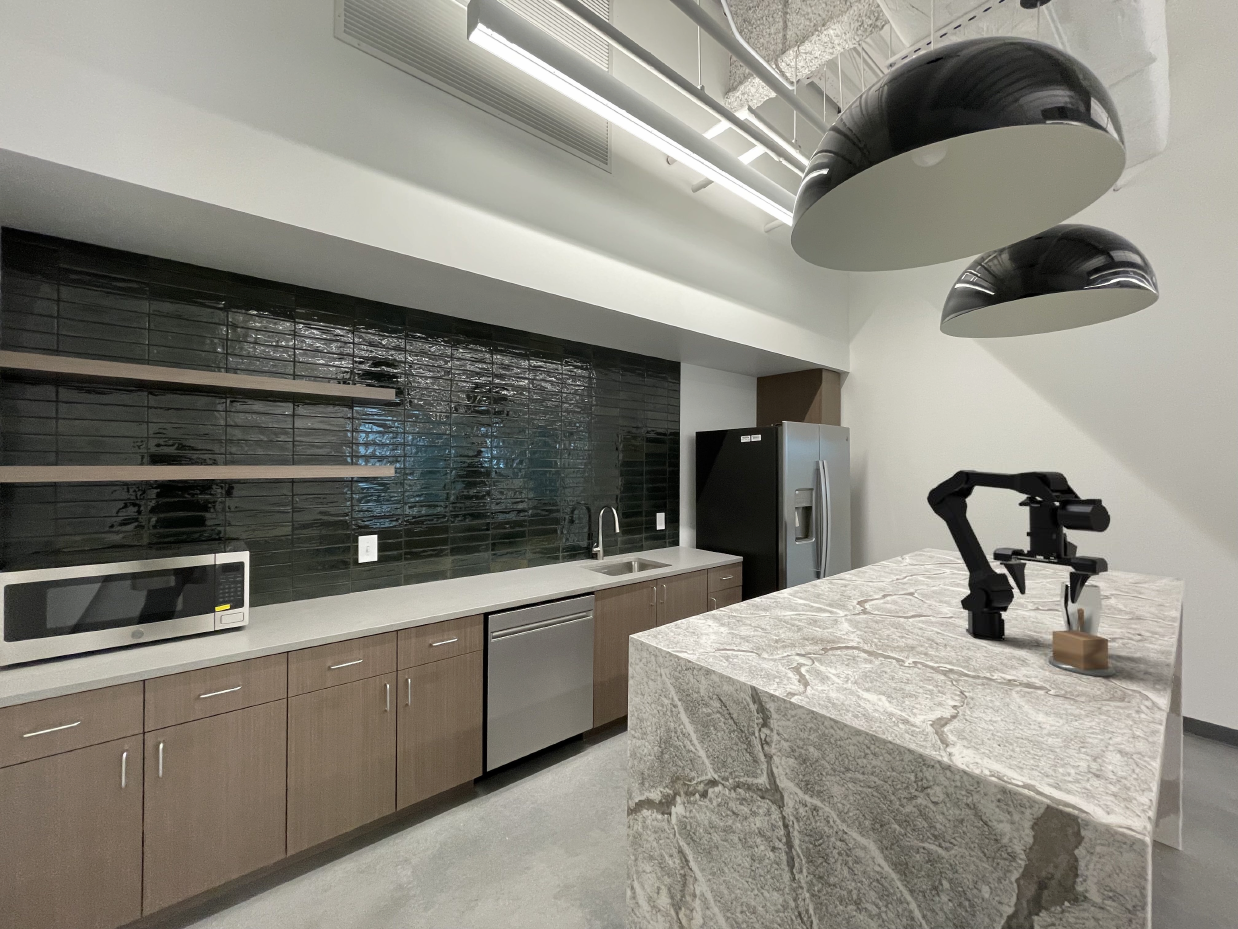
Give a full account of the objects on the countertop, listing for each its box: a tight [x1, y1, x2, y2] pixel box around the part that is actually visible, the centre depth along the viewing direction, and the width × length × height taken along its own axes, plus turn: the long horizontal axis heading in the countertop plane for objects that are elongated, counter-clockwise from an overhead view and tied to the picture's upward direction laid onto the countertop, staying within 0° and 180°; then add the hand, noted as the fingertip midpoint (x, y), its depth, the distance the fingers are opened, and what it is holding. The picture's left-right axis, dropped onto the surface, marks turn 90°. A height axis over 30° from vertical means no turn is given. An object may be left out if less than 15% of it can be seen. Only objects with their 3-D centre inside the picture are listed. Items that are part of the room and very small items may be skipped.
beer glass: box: [1059, 581, 1103, 636], centre depth 113 cm, size 7×7×15 cm
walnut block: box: [1052, 630, 1109, 670], centre depth 103 cm, size 6×6×6 cm
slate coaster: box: [1048, 655, 1116, 678], centre depth 103 cm, size 10×10×1 cm
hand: (1047, 598), depth 110 cm, fingers open, 9 cm apart
